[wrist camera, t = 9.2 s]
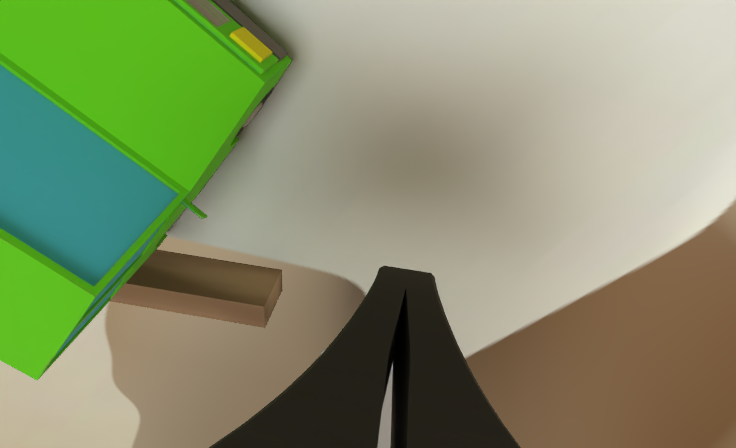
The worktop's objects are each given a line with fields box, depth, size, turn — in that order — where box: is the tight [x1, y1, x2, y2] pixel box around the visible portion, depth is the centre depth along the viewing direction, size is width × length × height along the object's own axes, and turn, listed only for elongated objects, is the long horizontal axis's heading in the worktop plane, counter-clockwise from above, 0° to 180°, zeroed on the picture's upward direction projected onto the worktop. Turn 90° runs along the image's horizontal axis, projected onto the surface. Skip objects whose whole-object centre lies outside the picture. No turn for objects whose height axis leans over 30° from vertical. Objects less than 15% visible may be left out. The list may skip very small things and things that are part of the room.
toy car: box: [0, 0, 292, 380], centre depth 17 cm, size 10×13×10 cm
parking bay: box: [110, 250, 282, 328], centre depth 20 cm, size 20×15×3 cm
